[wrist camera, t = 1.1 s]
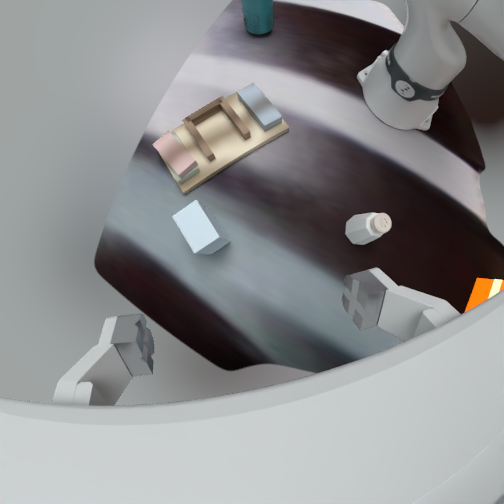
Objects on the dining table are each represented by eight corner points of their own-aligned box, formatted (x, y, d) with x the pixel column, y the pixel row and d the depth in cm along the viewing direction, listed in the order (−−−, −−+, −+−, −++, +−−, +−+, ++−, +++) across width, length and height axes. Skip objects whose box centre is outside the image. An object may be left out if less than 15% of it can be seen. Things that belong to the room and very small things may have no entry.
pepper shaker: (352, 209, 46) (375, 195, 35) (377, 224, 46) (405, 215, 35) (339, 235, 46) (359, 229, 35) (364, 251, 46) (391, 249, 35)
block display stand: (156, 146, 48) (145, 135, 43) (253, 88, 48) (251, 72, 42) (185, 194, 48) (175, 187, 42) (288, 130, 47) (290, 116, 42)
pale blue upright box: (193, 225, 48) (172, 216, 37) (212, 212, 47) (196, 199, 36) (211, 254, 47) (194, 253, 36) (230, 241, 47) (219, 236, 36)
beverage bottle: (279, 32, 48) (280, -32, 28) (255, 42, 48) (250, -24, 28) (262, 19, 48) (259, -42, 28) (239, 29, 48) (229, -34, 28)
